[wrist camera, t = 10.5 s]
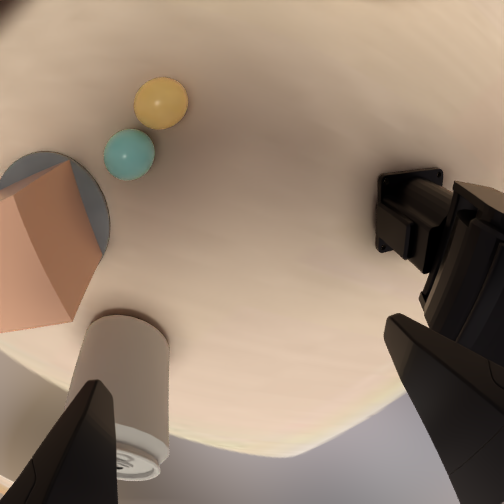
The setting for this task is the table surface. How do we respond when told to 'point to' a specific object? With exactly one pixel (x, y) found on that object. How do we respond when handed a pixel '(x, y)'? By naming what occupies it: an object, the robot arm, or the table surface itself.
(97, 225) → the coaster
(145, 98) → the marble amber
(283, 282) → the table surface
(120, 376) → the can
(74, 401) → the robot arm
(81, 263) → the peach beveled cube
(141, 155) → the marble teal
